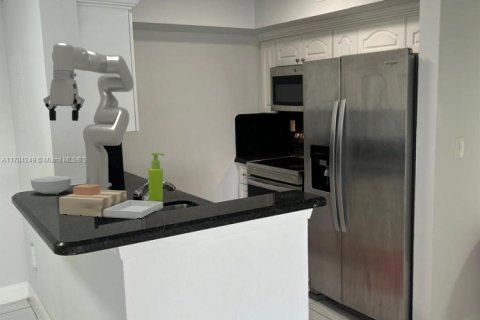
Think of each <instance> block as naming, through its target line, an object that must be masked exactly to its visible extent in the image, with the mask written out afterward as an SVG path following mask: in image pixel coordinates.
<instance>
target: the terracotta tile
mask: <svg viewBox="0 0 480 320" xmlns="http://www.w3.org/2000/svg"><path fill="white" fill-rule="evenodd" d="M72 189H73V193H72V194H73V195H86V196H92V195H95V194H98V193H101V188H100V185H90V184H85V183H84V184H79V185H75V186H73V188H72Z"/></svg>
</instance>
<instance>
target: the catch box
mask: <svg viewBox="0 0 480 320" xmlns="http://www.w3.org/2000/svg"><path fill="white" fill-rule="evenodd" d="M162 209H164V202H163V201H149V200H135V199H134V200H133V199H130V200H129V199H128V200H127V201H125V202H123V203H120V204H117V205H115V206H112V207H110V208H107V209H104V210H103V216H102V217H103V218H112V219H113V218H114V219H115V218H117V219H133V220H134V219H135V220H138V219H137V218H142V217H144V216H146V215H148V214H150V213H152V212H154V211H156V212H158V211H160V210H162ZM154 213H155V212H154ZM152 214H153V213H152ZM150 215H151V214H150ZM148 216H149V215H148ZM146 217H147V216H146ZM144 218H145V217H144ZM142 219H143V218H142Z"/></svg>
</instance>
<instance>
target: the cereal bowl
mask: <svg viewBox="0 0 480 320" xmlns="http://www.w3.org/2000/svg"><path fill="white" fill-rule="evenodd" d="M30 183H31V188H32V189H33V190H34V191H35V192H37V193H40V194H41V195H43V194H56V195H60V194H59V193H61V192H62V193H63V192H64V191H66V190H68V189H69V188H70V187H71V184H72V179H71V177H70V176H65V175H63V176H61V175H60V176H59V175H53V176H51V175H50V176H41V177H33V178H32V179H31V180H30ZM62 193H61V194H62Z"/></svg>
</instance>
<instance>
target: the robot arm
mask: <svg viewBox="0 0 480 320" xmlns="http://www.w3.org/2000/svg"><path fill="white" fill-rule="evenodd" d="M51 58H52V66H53V67H52V68H53V69H52V74H53V75H52V76H53V78H52V79H51V83H50V88H49V95H47V96H46V97H44V98H43V99H42V101H43V103H44V106H45V107H46V108H47V110H48V112H49V114H48V117H49V121H53V122H54V121H56V120H57V111H56V110H55V109H56V108H57V107H58V106H59V107H71V108H72V109H73V110H71V121H74V122H78V121H79V111H81V108H82V107H83V104H84V102H85V99H84V98H83V97H81V95H79V89H78V84H77V80H76V79H75V78H76V77H77V73H76V72H75V70H78V71H83V72H84V71H85V72H93V73H97V74H101V75H100V76H99V77H98V78H97V88H98V94H99V98H100V100H99V102H98V106H97V108H96V111H95V113H94V116H93V122H94V123H91V124H88V125H86V126H84V129H83V131H82V137H83V143H84V148H85V173H86V174H85V180H86V181H85V182H86V184H90V185H100V188H101V190H109V188H110V187H112V183H111V182H109V156H108V152H107V150H106V149H105V147H104V146H119V145H120V144H121V143H122V142H123V140H124V138H125V134H126V132H127V129H128V126H129V123H130V114H129V111H128V110H127V109H126V108H124V107H122V106H119V101H118V99H117V98H116V96H115V95H114V94H113V93H118V92H119V93H128V92H130V91H132V90H133V88H134V84H135V83H134V79H133V76H132V74H131V71H130V68H129V66H128V64H127V62H126V60H125V59H124V57H123V56H122V55H119V54H102V53H98V52H94V51H90V50H86V49H85V48H84V47H82V46H81V47H80V46H73V45H72V44H70V43H64V42H63V43H62V42H58V43H54V45H53V47H52V53H51Z"/></svg>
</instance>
